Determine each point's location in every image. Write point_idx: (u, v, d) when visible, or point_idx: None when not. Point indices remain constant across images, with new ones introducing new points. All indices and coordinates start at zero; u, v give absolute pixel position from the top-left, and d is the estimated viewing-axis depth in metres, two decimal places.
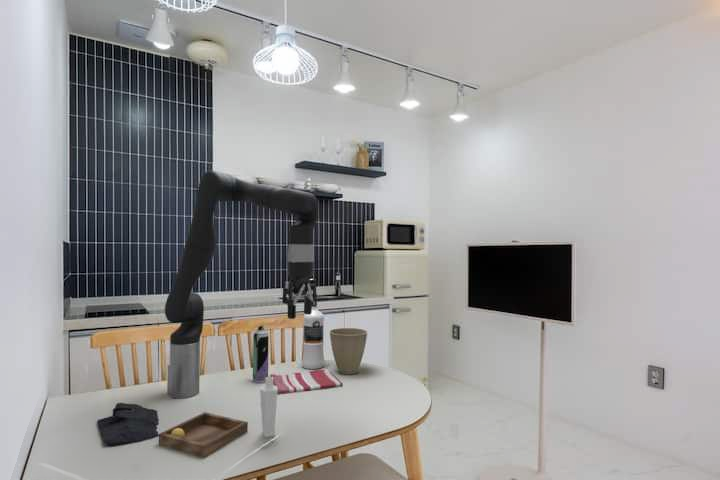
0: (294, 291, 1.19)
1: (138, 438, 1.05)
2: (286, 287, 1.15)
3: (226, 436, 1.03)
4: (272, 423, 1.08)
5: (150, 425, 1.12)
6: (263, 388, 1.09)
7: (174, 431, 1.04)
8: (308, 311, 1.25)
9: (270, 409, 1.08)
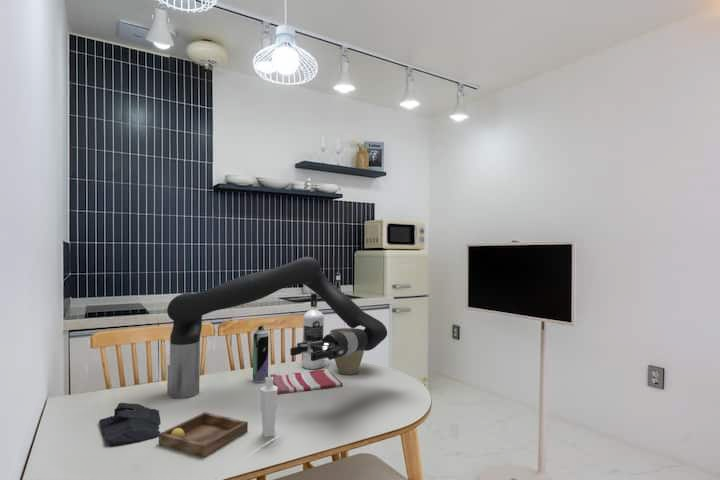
0: (326, 350, 1.22)
1: (141, 438, 1.05)
2: (340, 351, 1.21)
3: (226, 436, 1.03)
4: (272, 423, 1.08)
5: (152, 425, 1.12)
6: (263, 388, 1.09)
7: (174, 431, 1.04)
8: (294, 353, 1.22)
9: (270, 409, 1.08)
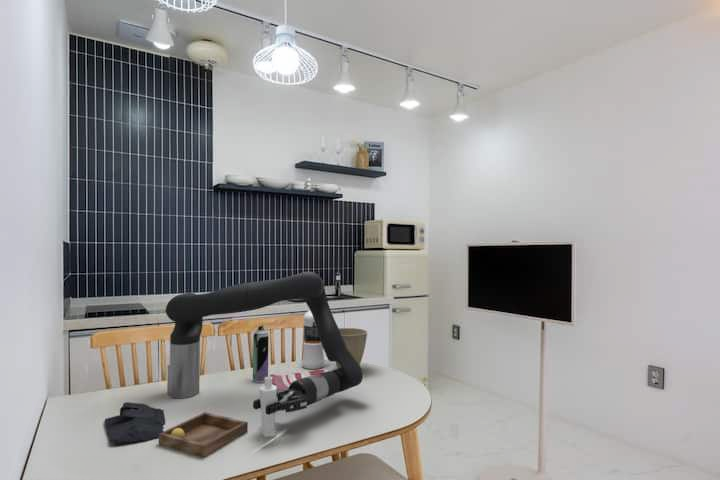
0: (289, 400, 1.12)
1: (145, 438, 1.05)
2: (302, 403, 1.10)
3: (226, 436, 1.03)
4: (272, 423, 1.08)
5: (156, 425, 1.12)
6: (262, 388, 1.09)
7: (174, 431, 1.04)
8: (257, 406, 1.10)
9: None
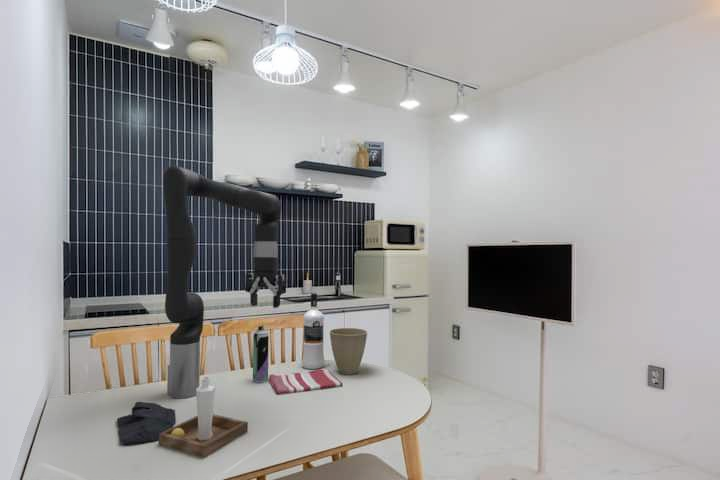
0: (272, 283, 1.33)
1: (154, 438, 1.05)
2: (283, 279, 1.31)
3: (226, 436, 1.03)
4: (207, 424, 1.06)
5: (167, 425, 1.12)
6: (199, 388, 1.07)
7: (174, 431, 1.04)
8: (256, 302, 1.36)
9: (205, 410, 1.06)
